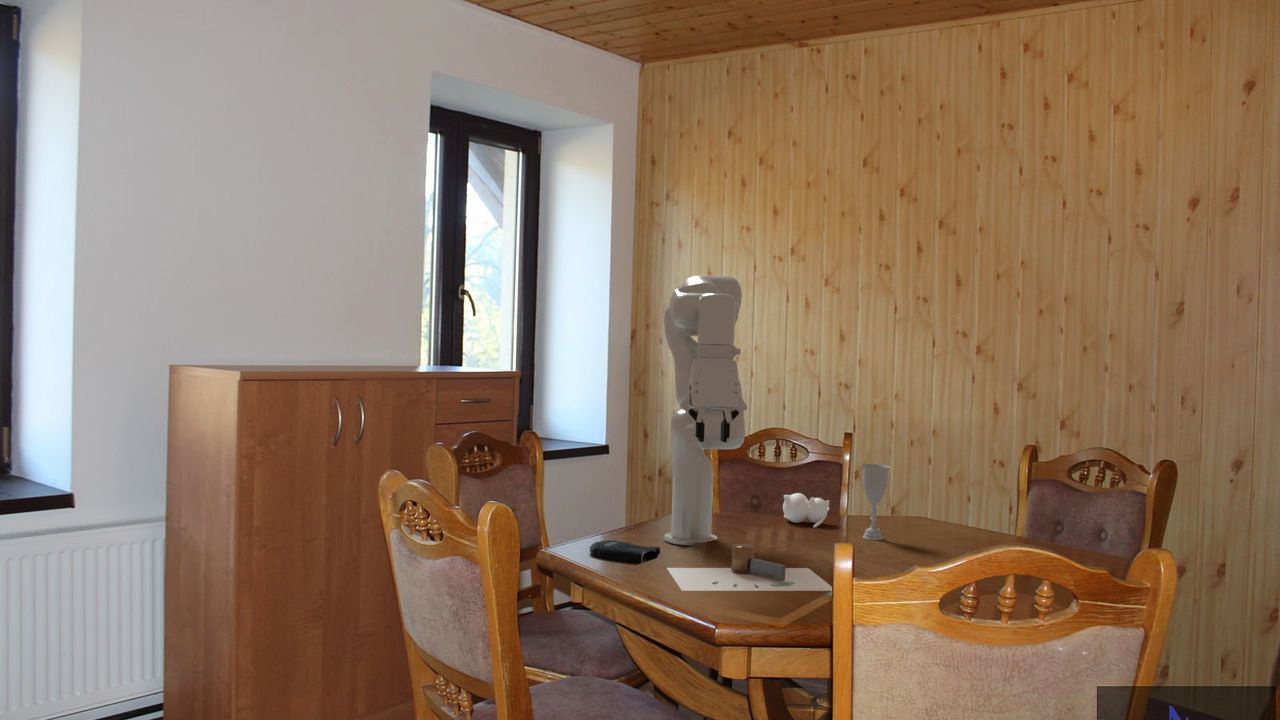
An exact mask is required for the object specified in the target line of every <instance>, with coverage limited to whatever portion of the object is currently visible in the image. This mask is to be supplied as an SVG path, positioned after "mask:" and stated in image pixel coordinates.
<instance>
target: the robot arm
mask: <svg viewBox="0 0 1280 720" xmlns="http://www.w3.org/2000/svg"><path fill="white" fill-rule="evenodd" d="M742 298H743V295H742V286H741V284H740V283H739V281H738V279H735V278H734V277H731V276H724V275H723V276H721V275H720V276H719V275H693V276H691V277H690V276H689V277H688V278H687V279H686V280H684V281H683V283H682V284H681V286H680V287H677V288H675V289H674V290H673V291H672V294H671V297H670V301H669V306H667V307H666V309H665V310H664V314H663V326H664V334H665V338H666V341H667V342H666V343H667V344H668V348H669V350H670V352H671V354H672V358H673V361H674V362H673V364H674V381H675V382H674V383H675V388H674V389H675V397H676V400H677V403H678V405H679V408H680V409H679V410H677V411H676V412H674V414H673V415H672V417H671V421H670V431H671V441H672V452H673V454H672V455H673V458H672V459H673V460H672V461H673V463H672V464H673V466H672V467H673V468H672V469H673V470H672V493H671V494H672V495H671V496H672V497H671V498H672V499H671V525H670V528H671V529H670V531H669V532H666V533H665V534H664V541H665V542H667V543H670V544H674V545H677V546H679V545H680V546H690V547H696V546H698V545H702V544H704V543H707V542H711V541H716V540H718V536H717V535H715V534H712V517H713V516H712V515H713V514H712V513H713V491H714V490H713V489H714V487H713V486H714V468H713V465H712V462H711V461H710V460H709V458H708V457H707V455H706V454H705V453H704V450H736V449H738V448H740V447H741V446H743V444H744V442H745V438H746V437H745V436H746V424H745V423H746V422H745V413H744V411H745V412H746V410H747V409H748V405H747V404H746V402H745V401H744V399H743V392H742V390H743V389H742V384H741V380H740V378H739V369H738V363H737V360H734V359H735V357H736V356H740V355H741V353H742V352H741V351H742V350H741V348H737V347H736V345H735V326H736V323H737V322H738V318H739V313H740V309H741V305H742ZM693 337H697V341H696V340H695V339H694V338H693Z"/></svg>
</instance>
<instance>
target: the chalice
mask: <svg viewBox="0 0 1280 720" xmlns="http://www.w3.org/2000/svg"><path fill="white" fill-rule="evenodd" d="M861 468H862V469H863V470H862V472H863V473H862V488H863V490H864V493H865V495H866V499H867V501H868V502H869V503H871V506H872V507H871V510H870V512H871V516H870V518H869V519H870V521H871V525H870V527H867V528H866V529H865V531H864V532H863V536H862V539H865V540H871V541H882V540H884V538H883V536H882V535H883V534H882V533H881V530H880V528H877V526H876V522H877V520H878V518H877V512H878V511H877V504H879V503H881V502H882V501H881V500H882V499H883V498H884V495H885V494H886V491H887V488H888V478H889V472H888V471H889V470H890V469H891V466H890V465H884V464H875V463H874V464H873V463H863V464H862V463H861Z"/></svg>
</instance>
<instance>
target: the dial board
mask: <svg viewBox="0 0 1280 720" xmlns="http://www.w3.org/2000/svg"><path fill="white" fill-rule="evenodd" d="M666 569H667V571H668V573H669V574H670V575H671V577H672V578H673V580H674V581H675V583H676V585H677V586H678V587H679V589H680V590H681V592H771V591H772V592H813V591H814V592H826V593H824V594H823V595H820V596H819V597H820V598H827V596H828V598H833V597H832V587H833V586H832V585H830V584H829V583H828V582H827V581H825V579H823V578H822V577H820V576H819V575H818V574H817V573H815V572H814V571H813V570H811V569H810V568H809V567H802V568H801V567H795V568H794V567H785V581H778V580H774V579H770V578H766V577H762V576H758V575H754V574H750V573H736V572H733V571H732V570H731V567H666ZM827 591H828V592H827ZM825 596H826V597H825ZM830 596H831V597H830Z"/></svg>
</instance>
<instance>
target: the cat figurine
mask: <svg viewBox="0 0 1280 720" xmlns="http://www.w3.org/2000/svg"><path fill="white" fill-rule="evenodd" d="M783 500H784V502H783V504H782V511H783V513H784V514H783V518H785V519H788V520H789V521H791V522H792V523H795V524H800V523H803V522H804V521H805V520H806V519H807V520H809V521H810V523H813V524H814V525H813V529H815V528H818V526H820V525H821V524H822V523H823V522H824V521H825V519H826V518H827V516H828V512H829V511H830V507H829V505H830V500H829V499H827V500H824V499H822V498H820V497H810V499H809V500H808V498H807V497H806V496H805V494H803V493H800V492H795V493H792V494H784V495H783Z"/></svg>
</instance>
